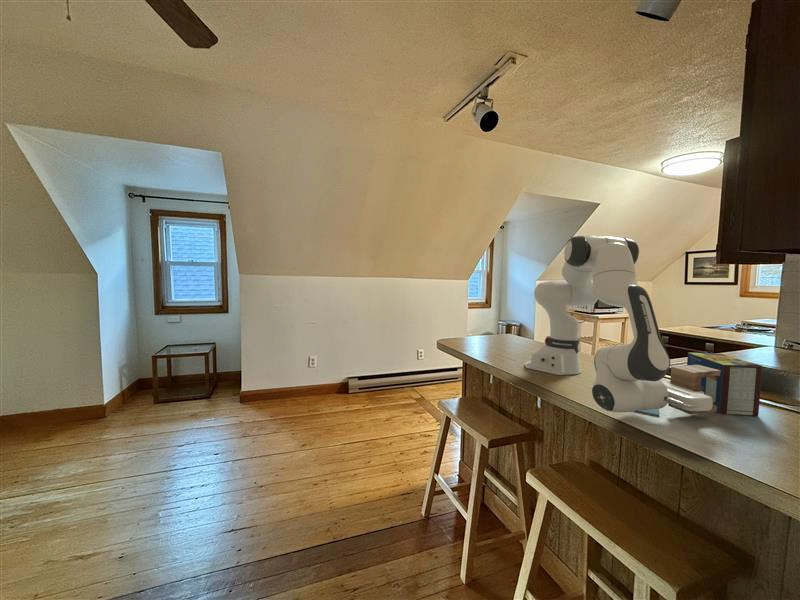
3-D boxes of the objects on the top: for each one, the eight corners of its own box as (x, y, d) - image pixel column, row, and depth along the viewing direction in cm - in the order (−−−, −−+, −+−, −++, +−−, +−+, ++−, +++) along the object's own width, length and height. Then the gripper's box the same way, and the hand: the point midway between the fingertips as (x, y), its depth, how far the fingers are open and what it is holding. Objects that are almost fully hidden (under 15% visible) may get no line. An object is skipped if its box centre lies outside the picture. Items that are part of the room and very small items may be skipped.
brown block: (690, 414, 92) (693, 372, 91) (668, 405, 98) (671, 366, 97) (716, 411, 95) (720, 370, 94) (694, 402, 100) (697, 364, 99)
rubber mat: (600, 404, 106) (600, 402, 106) (604, 391, 118) (604, 389, 118) (659, 416, 97) (659, 414, 97) (657, 401, 109) (657, 399, 109)
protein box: (717, 397, 112) (721, 353, 111) (759, 417, 97) (764, 365, 96) (683, 395, 114) (686, 352, 113) (719, 414, 99) (723, 364, 98)
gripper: (689, 395, 82) (731, 391, 85) (618, 371, 102) (653, 368, 105) (687, 420, 82) (728, 414, 86) (616, 390, 102) (652, 387, 105)
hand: (686, 389), depth 95 cm, fingers closed on brown block, 6 cm apart
